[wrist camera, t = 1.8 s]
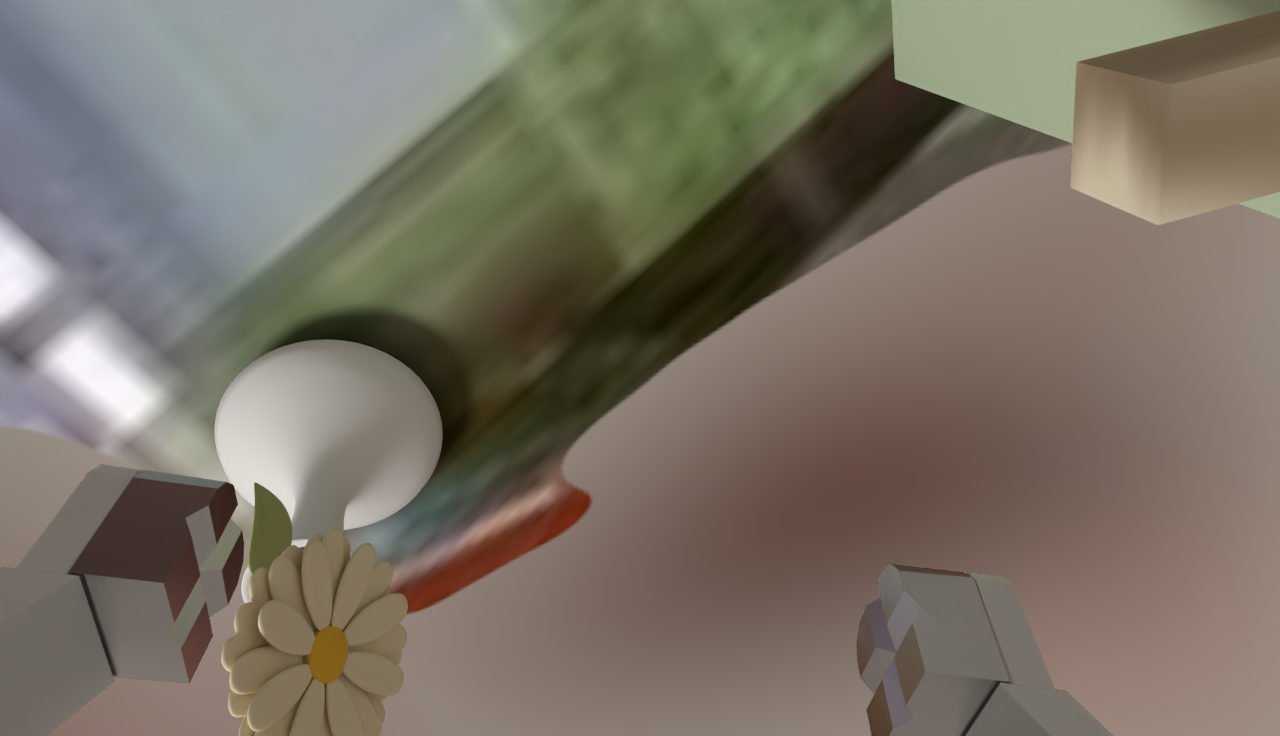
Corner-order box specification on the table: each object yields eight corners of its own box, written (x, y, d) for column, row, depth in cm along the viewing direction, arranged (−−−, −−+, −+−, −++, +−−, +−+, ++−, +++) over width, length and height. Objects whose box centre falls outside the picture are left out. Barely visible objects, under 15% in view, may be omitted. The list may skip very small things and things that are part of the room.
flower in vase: (440, 505, 53) (455, 923, 31) (230, 512, 50) (86, 976, 28) (443, 298, 47) (464, 632, 26) (207, 293, 45) (4, 663, 23)
